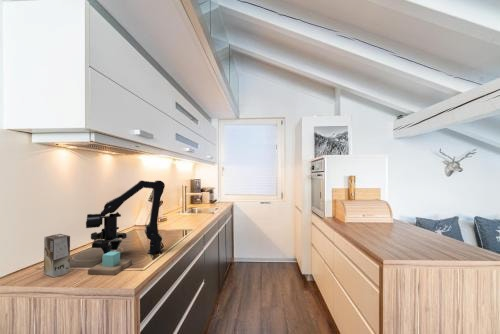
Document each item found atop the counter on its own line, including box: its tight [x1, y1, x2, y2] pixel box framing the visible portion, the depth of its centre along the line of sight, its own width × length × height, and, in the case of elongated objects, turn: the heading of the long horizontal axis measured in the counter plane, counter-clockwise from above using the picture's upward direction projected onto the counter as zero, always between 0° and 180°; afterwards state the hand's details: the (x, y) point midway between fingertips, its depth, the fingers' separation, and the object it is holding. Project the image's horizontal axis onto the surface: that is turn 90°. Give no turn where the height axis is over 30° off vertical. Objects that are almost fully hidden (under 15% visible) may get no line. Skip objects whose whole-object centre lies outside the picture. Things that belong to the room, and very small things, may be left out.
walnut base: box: [87, 258, 133, 276], centre depth 108 cm, size 13×12×2 cm
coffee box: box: [43, 233, 71, 278], centre depth 104 cm, size 9×6×16 cm
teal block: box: [101, 251, 121, 267], centre depth 108 cm, size 5×5×5 cm
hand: (110, 256), depth 121 cm, fingers closed on cream block, 4 cm apart
